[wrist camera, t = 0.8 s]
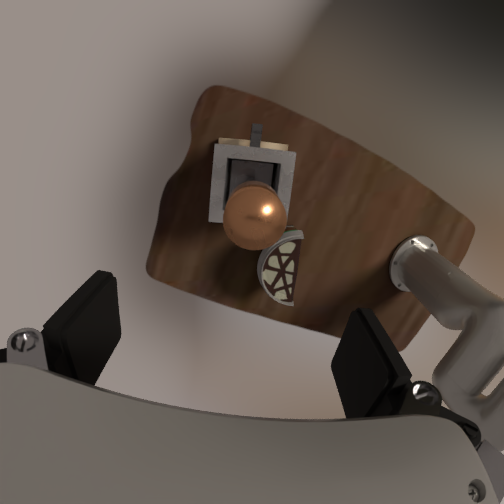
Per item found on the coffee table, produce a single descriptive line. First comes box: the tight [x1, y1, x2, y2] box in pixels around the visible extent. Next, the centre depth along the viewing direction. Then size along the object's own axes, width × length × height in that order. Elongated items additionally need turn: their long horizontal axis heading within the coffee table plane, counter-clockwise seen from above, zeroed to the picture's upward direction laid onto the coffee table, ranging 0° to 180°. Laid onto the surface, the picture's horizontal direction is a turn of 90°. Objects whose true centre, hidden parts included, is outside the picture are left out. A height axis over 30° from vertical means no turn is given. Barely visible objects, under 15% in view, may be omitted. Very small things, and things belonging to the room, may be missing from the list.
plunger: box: [223, 160, 287, 250], centre depth 27 cm, size 5×5×20 cm
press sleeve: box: [209, 124, 296, 229], centre depth 37 cm, size 9×12×14 cm
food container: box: [257, 225, 304, 306], centre depth 46 cm, size 12×6×10 cm, turn 176°
